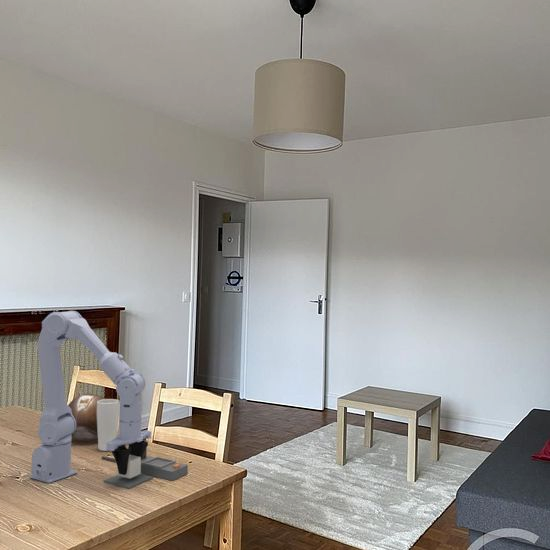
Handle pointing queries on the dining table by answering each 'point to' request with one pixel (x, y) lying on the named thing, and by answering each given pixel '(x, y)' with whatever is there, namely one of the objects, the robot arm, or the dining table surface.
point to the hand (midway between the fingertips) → (128, 471)
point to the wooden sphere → (85, 416)
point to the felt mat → (128, 480)
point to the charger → (132, 467)
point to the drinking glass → (107, 421)
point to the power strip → (159, 467)
